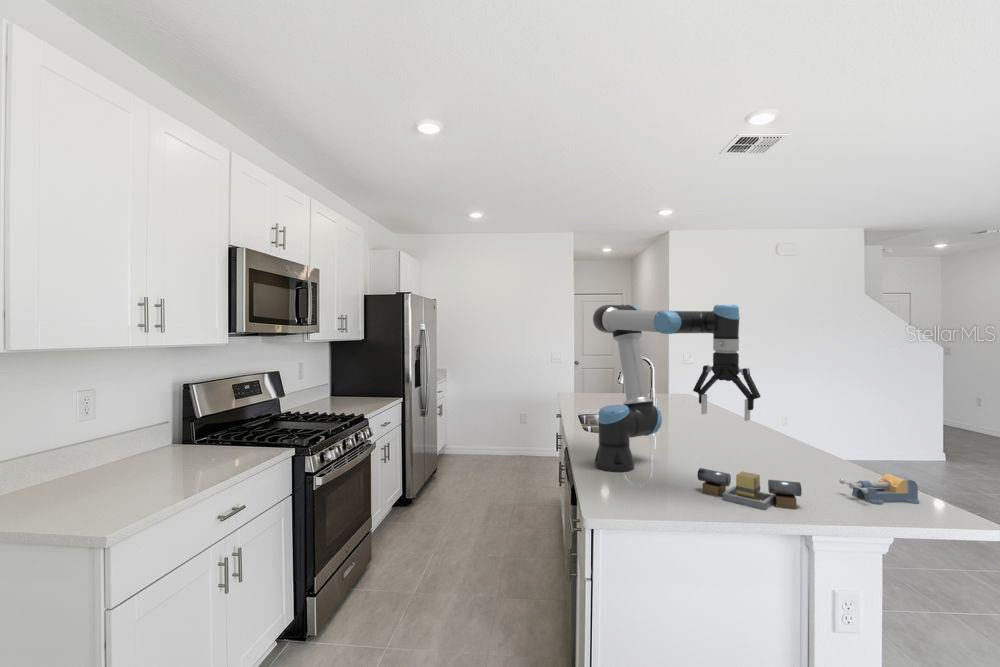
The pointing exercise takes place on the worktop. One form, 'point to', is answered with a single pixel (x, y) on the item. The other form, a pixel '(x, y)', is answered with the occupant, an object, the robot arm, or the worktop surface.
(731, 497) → the cradle
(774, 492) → the shaft
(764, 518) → the worktop surface
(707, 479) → the shaft
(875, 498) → the vise
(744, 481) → the gold rectangular block
